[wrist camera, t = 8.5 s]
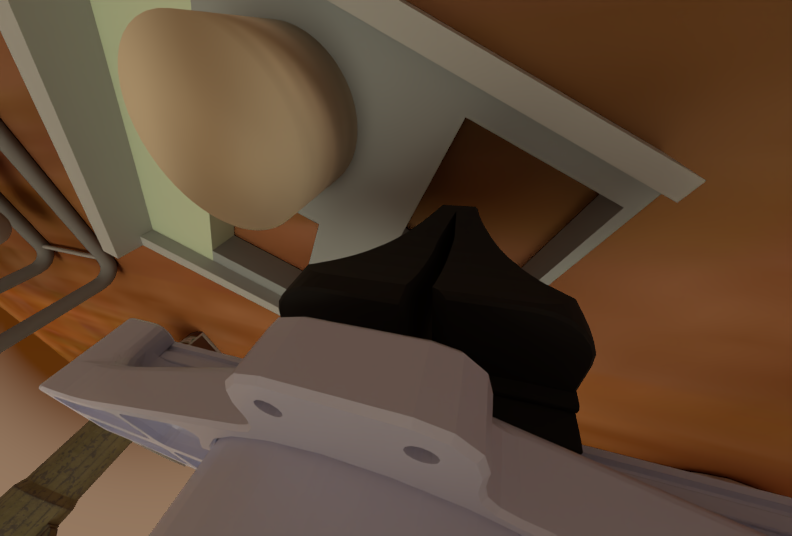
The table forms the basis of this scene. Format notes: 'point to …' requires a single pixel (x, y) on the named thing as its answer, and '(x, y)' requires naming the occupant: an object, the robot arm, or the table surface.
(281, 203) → the beige rounded dome
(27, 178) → the newton's cradle
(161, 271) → the table surface
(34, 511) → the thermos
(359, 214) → the trap board
